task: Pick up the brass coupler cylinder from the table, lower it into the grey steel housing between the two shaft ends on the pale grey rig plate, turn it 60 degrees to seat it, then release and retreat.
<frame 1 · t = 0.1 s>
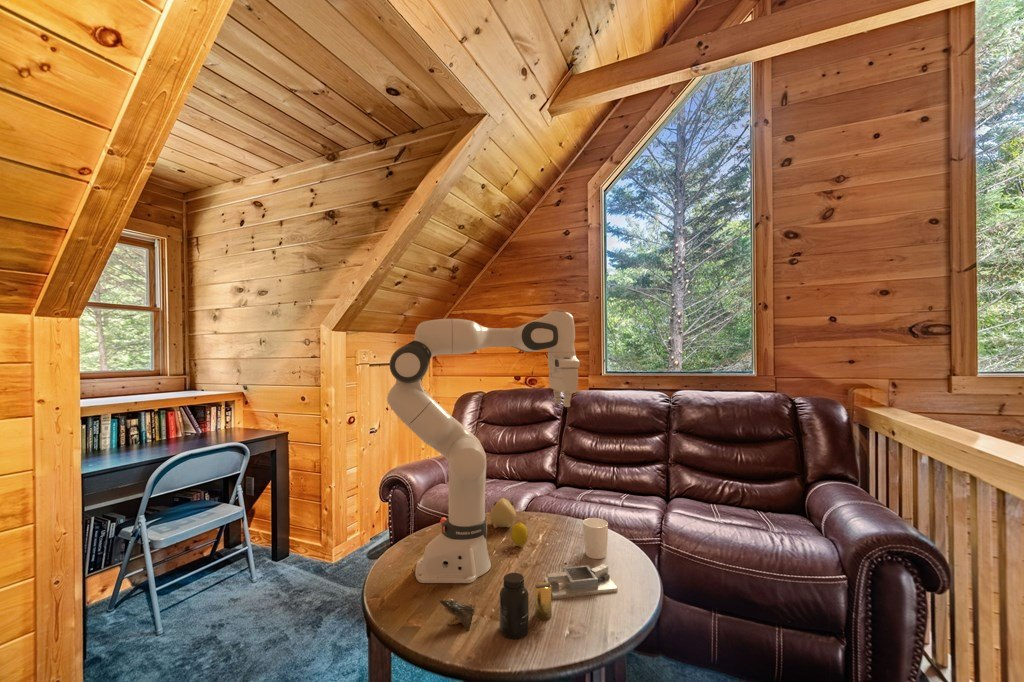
hand: (562, 404, 132), 48 cm above the table, fingers open, 8 cm apart
white cup: (595, 554, 133), on the table
shark head: (457, 624, 99), on the table
lemon: (519, 547, 139), on the table
pale yellow wedge piece: (503, 527, 155), on the table
supplement bottle: (514, 630, 97), on the table
coupler: (543, 615, 102), on the table
shaft rig: (580, 586, 114), on the table
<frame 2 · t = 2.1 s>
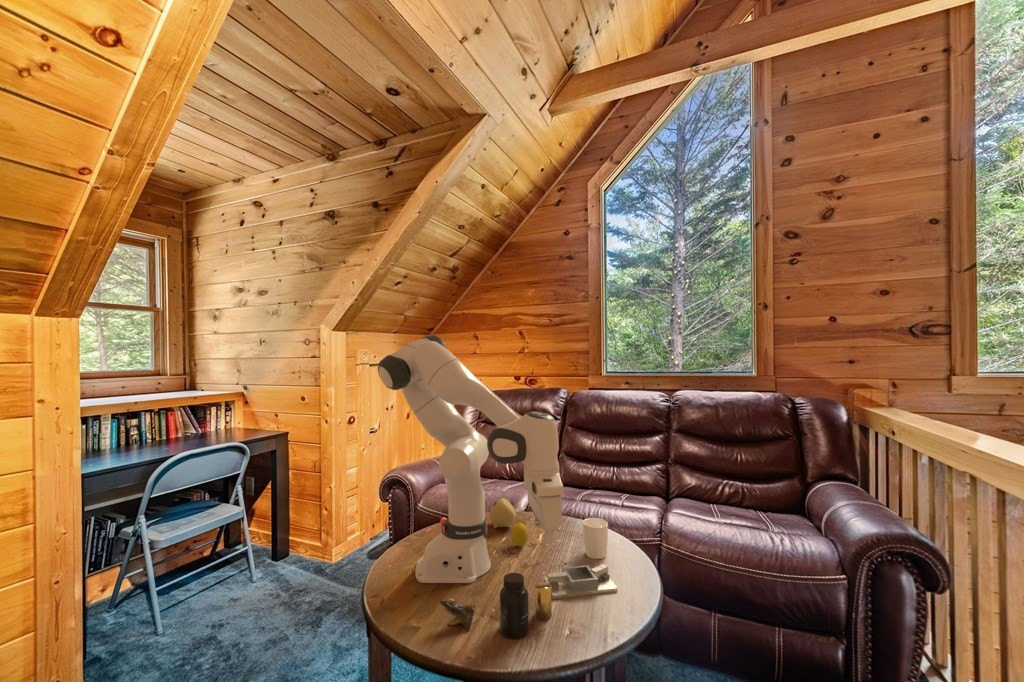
hand: (543, 534, 103), 20 cm above the table, fingers open, 8 cm apart
nothing on the table moved.
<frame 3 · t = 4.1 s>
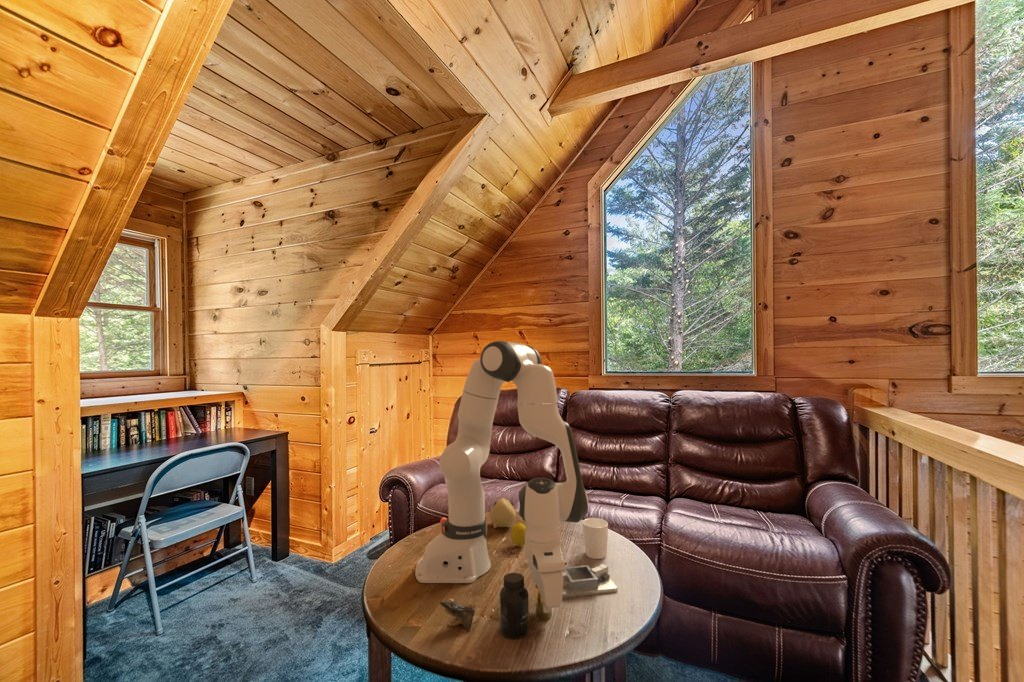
hand: (543, 604, 102), 3 cm above the table, fingers closed on coupler, 4 cm apart
coupler: (543, 615, 102), on the table, touching gripper
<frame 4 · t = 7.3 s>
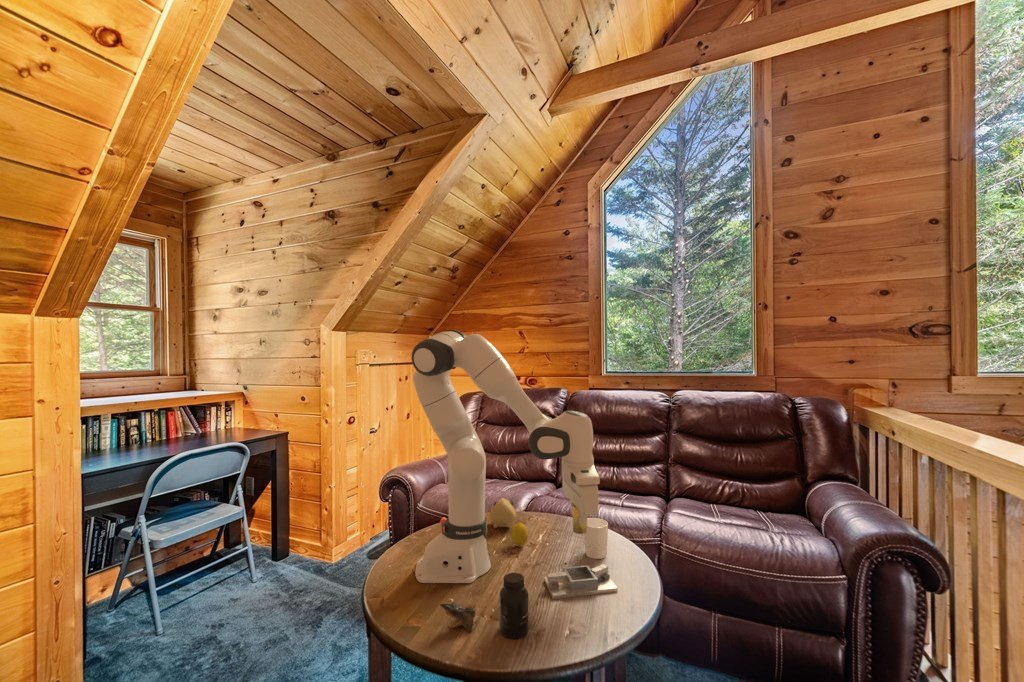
hand: (578, 520, 115), 18 cm above the table, fingers closed on coupler, 4 cm apart
coupler: (580, 530, 115), point 15 cm above the table, touching gripper
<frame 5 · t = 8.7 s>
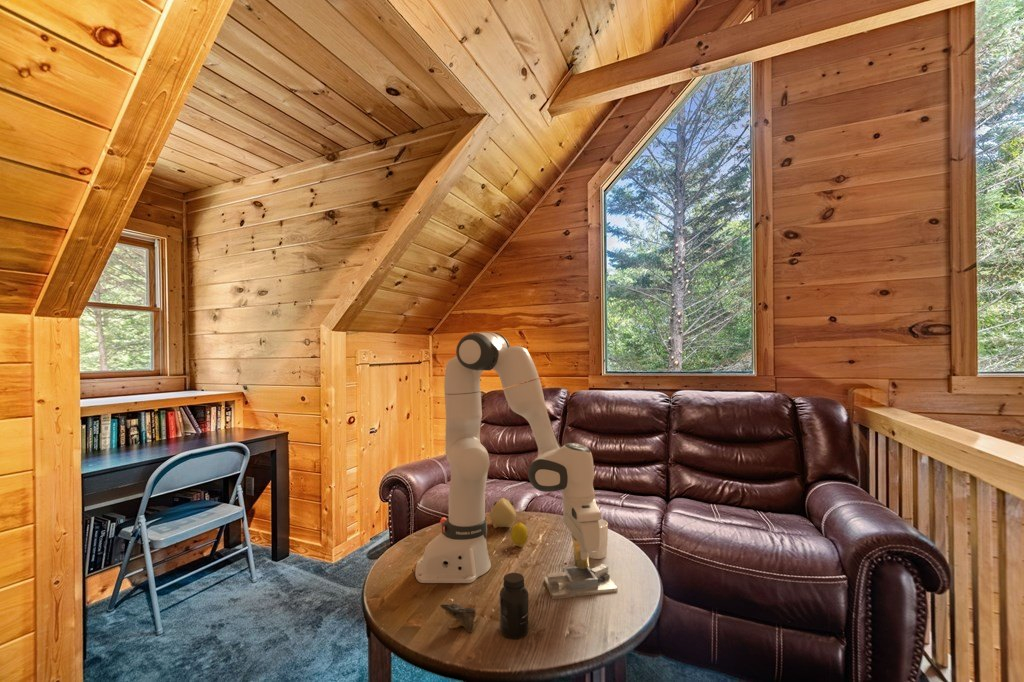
hand: (580, 553, 115), 9 cm above the table, fingers closed on coupler, 4 cm apart
coupler: (581, 564, 115), point 6 cm above the table, touching gripper
when the fingers open (5 cm above the table, at t = 10.1 s): coupler stays where it is, resting on shaft rig.
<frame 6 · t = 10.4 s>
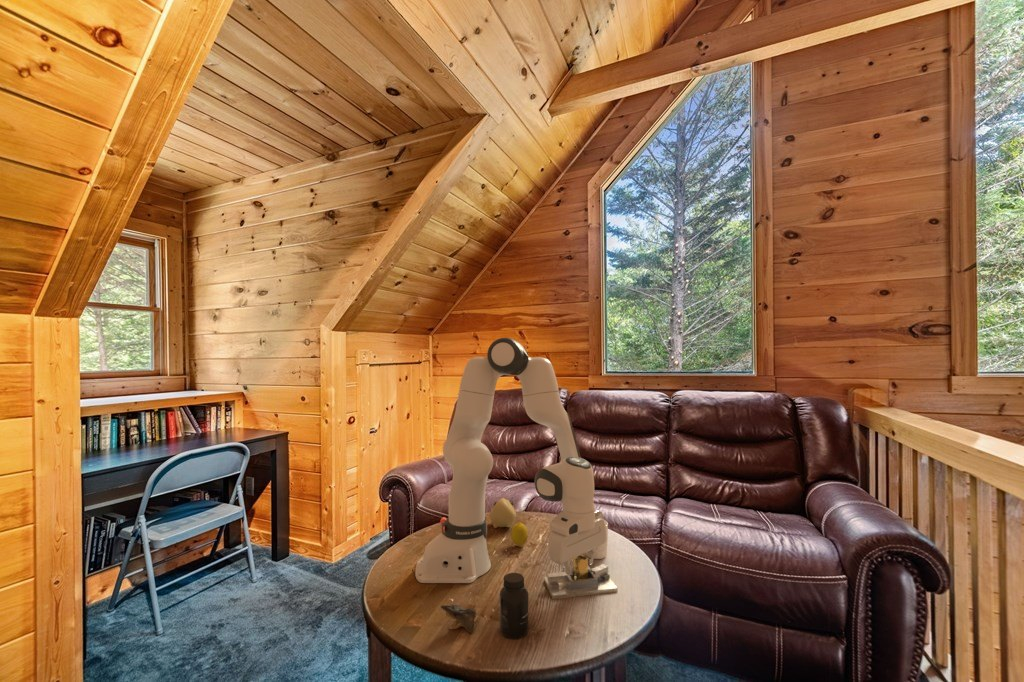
hand: (579, 568, 115), 5 cm above the table, fingers open, 7 cm apart
coupler: (580, 582, 114), point 1 cm above the table, touching shaft rig
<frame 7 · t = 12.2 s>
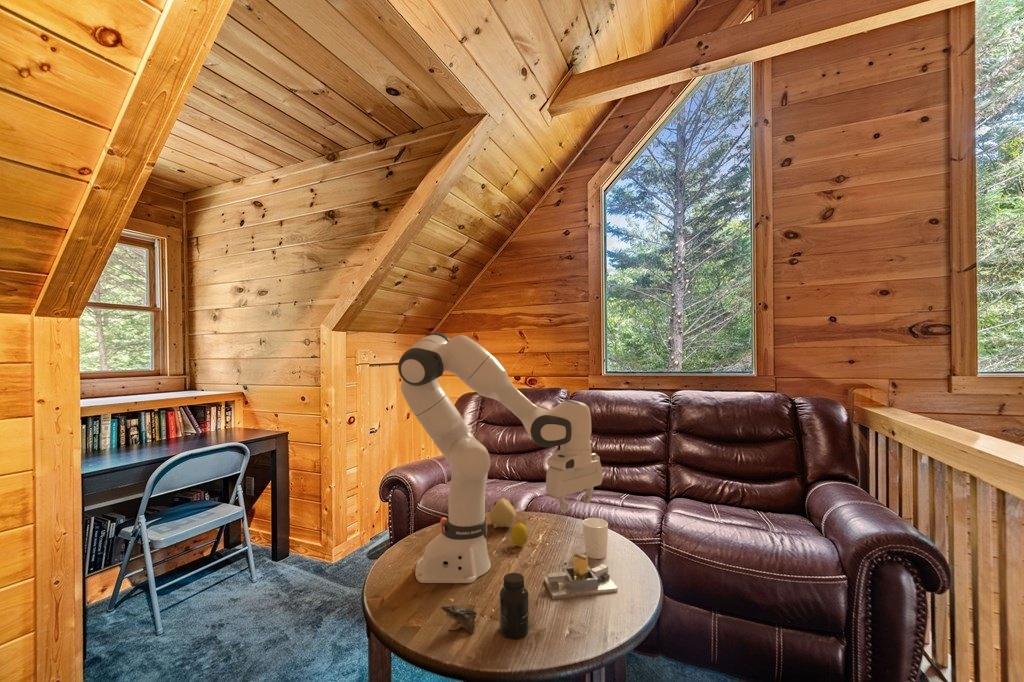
hand: (575, 506, 118), 21 cm above the table, fingers open, 8 cm apart
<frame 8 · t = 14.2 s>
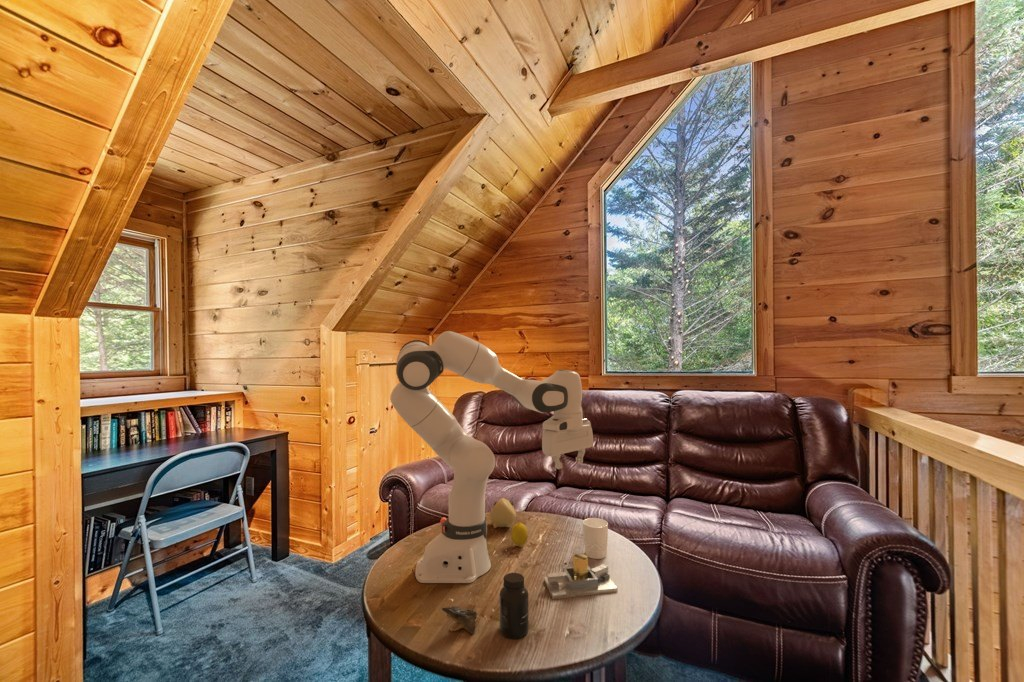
hand: (569, 465, 130), 29 cm above the table, fingers open, 8 cm apart
at the end: coupler 0.4 cm off-centre on the shaft rig, point 1.0 cm above the shaft rig's base; coupler tilted 0°; the gripper is holding nothing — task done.
